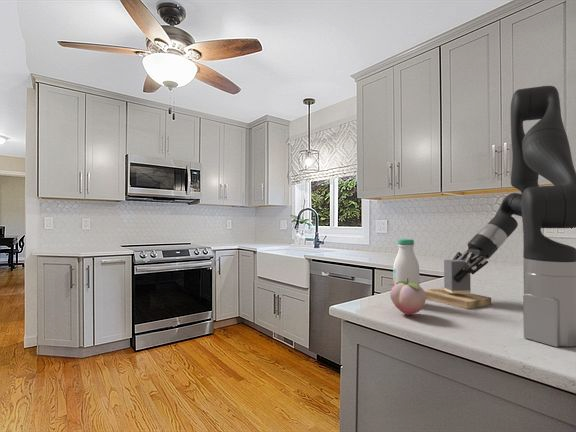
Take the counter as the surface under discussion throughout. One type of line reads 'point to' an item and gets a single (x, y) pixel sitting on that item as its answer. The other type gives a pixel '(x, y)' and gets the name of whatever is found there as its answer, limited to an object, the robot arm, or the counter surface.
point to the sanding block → (450, 271)
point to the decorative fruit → (408, 297)
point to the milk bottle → (406, 263)
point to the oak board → (457, 298)
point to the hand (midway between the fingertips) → (451, 278)
